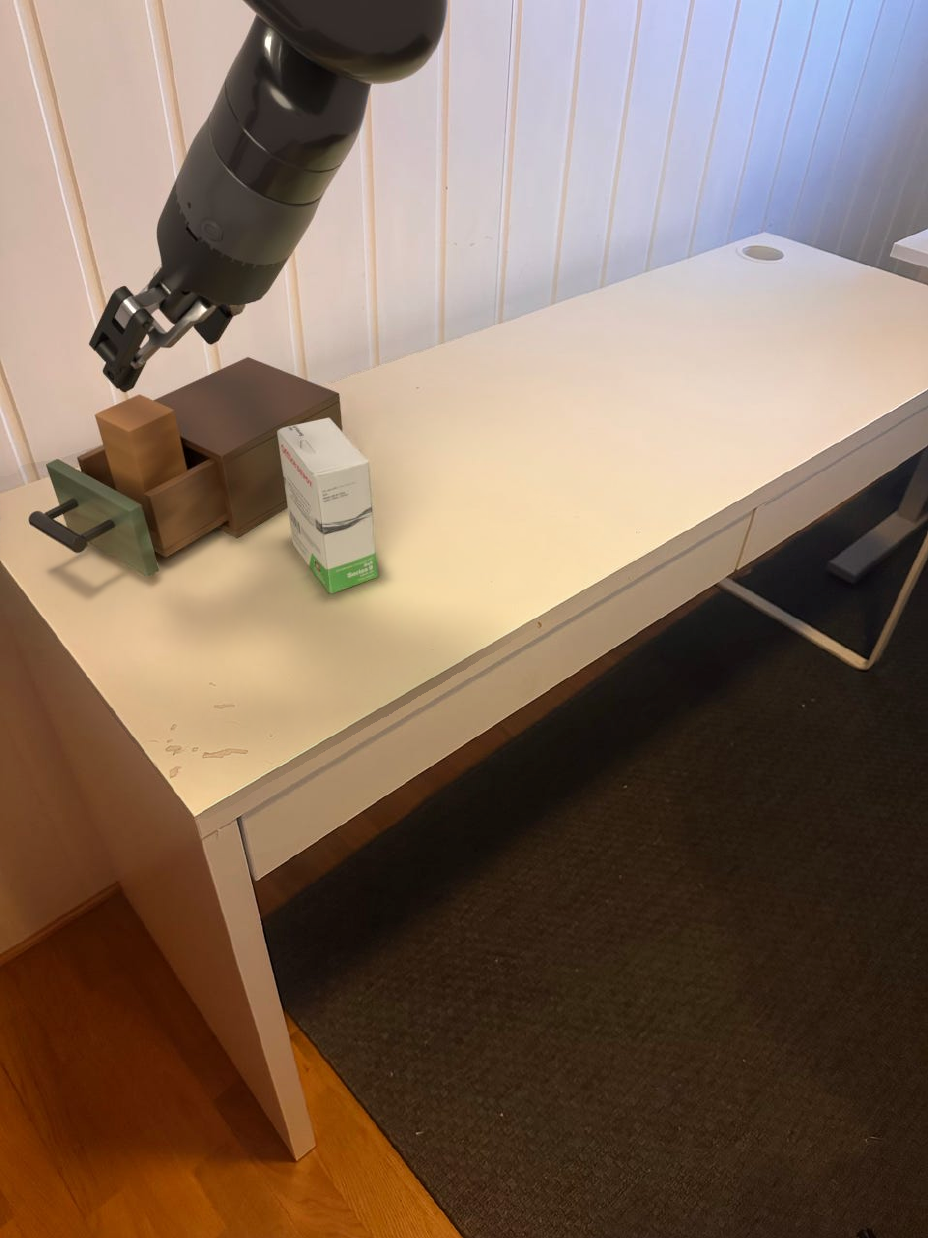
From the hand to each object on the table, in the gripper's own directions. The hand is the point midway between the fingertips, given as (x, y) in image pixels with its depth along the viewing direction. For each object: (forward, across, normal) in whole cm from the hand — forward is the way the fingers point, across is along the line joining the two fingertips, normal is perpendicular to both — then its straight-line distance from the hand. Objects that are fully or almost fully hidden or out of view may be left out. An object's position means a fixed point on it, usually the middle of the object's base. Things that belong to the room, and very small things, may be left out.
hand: (162, 356), depth 65 cm
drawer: (+19, 0, +6) cm, 20 cm away
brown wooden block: (+18, -1, +6) cm, 19 cm away
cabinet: (+19, -12, +8) cm, 24 cm away
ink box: (+10, -6, +20) cm, 23 cm away
